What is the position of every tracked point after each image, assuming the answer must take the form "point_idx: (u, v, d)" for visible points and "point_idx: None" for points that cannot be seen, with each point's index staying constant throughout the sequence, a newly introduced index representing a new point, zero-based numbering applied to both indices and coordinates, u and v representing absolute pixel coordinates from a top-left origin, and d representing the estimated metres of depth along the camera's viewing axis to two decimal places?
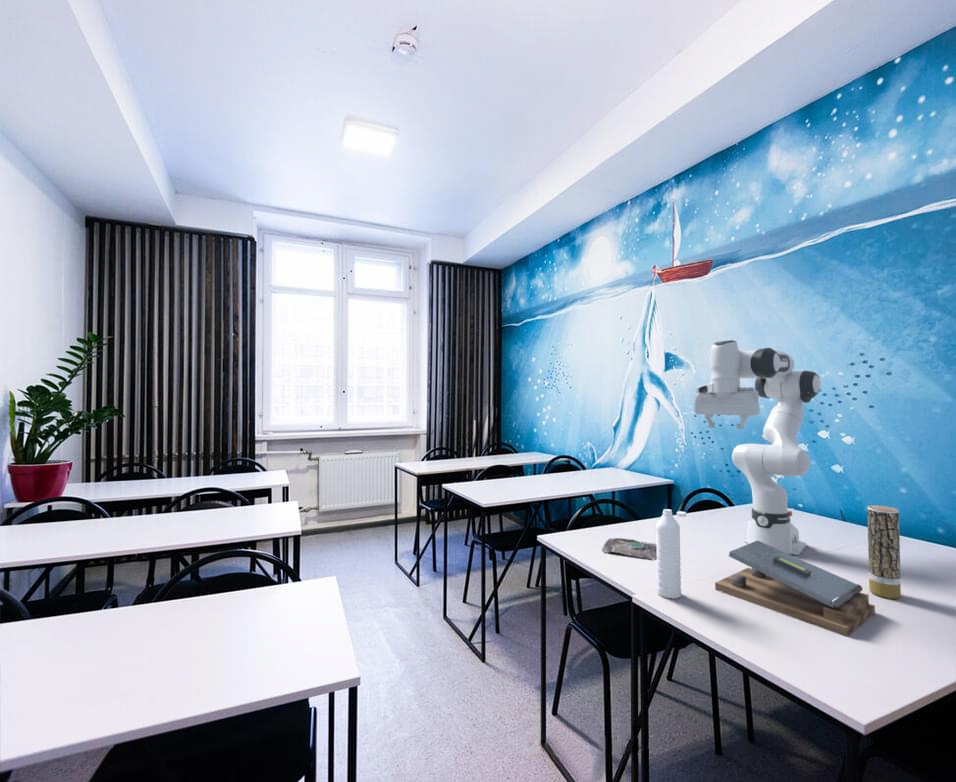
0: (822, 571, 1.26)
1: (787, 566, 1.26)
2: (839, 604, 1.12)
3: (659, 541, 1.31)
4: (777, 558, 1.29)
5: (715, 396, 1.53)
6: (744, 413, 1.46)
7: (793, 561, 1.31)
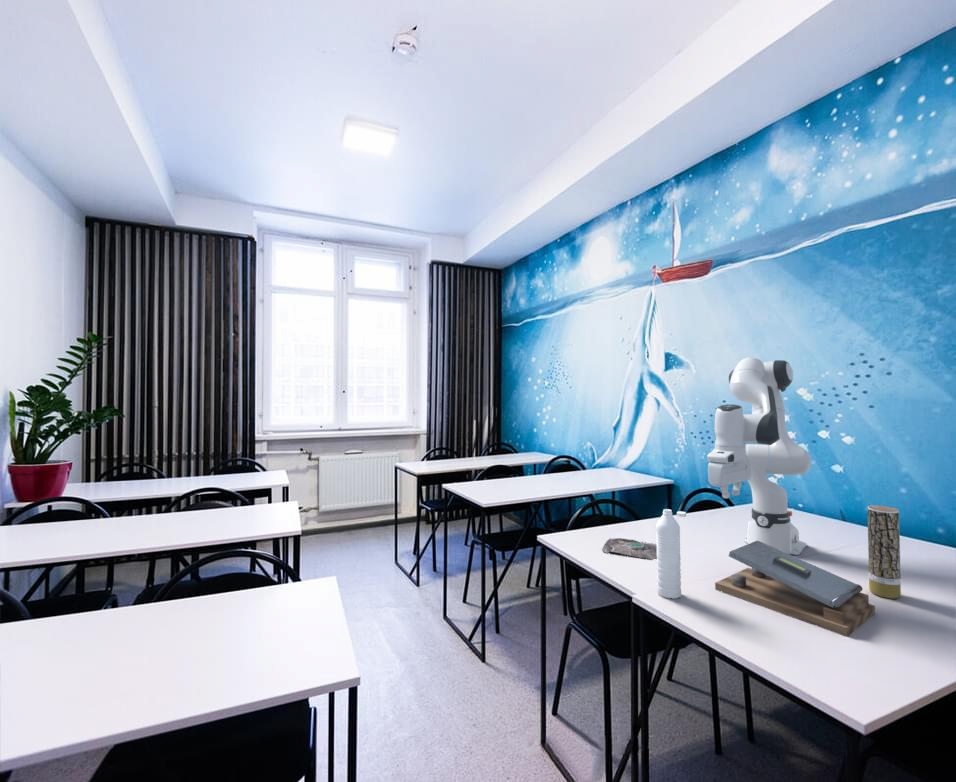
0: (822, 571, 1.26)
1: (787, 566, 1.26)
2: (839, 604, 1.12)
3: (659, 541, 1.31)
4: (777, 558, 1.29)
5: (734, 464, 1.44)
6: (746, 478, 1.49)
7: (793, 561, 1.31)
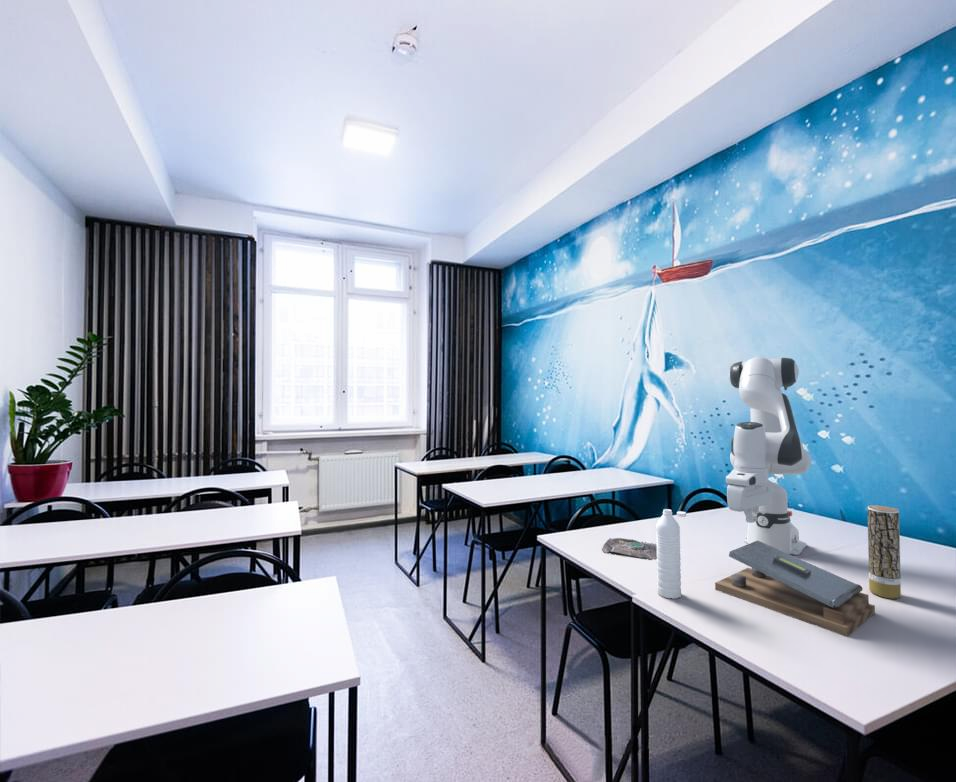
0: (822, 571, 1.26)
1: (787, 566, 1.26)
2: (839, 604, 1.12)
3: (659, 541, 1.31)
4: (777, 558, 1.29)
5: (755, 487, 1.33)
6: (768, 502, 1.38)
7: (793, 561, 1.31)
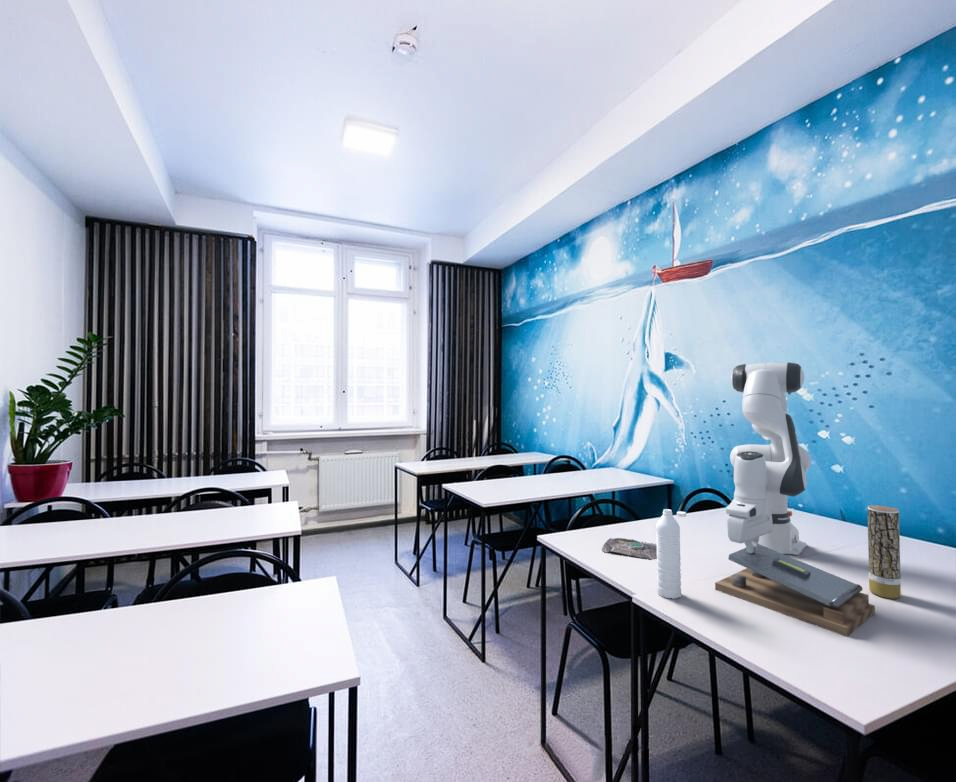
0: (822, 572, 1.27)
1: (786, 568, 1.27)
2: (839, 604, 1.12)
3: (659, 541, 1.31)
4: (776, 560, 1.29)
5: (755, 518, 1.33)
6: (768, 531, 1.38)
7: (793, 563, 1.31)
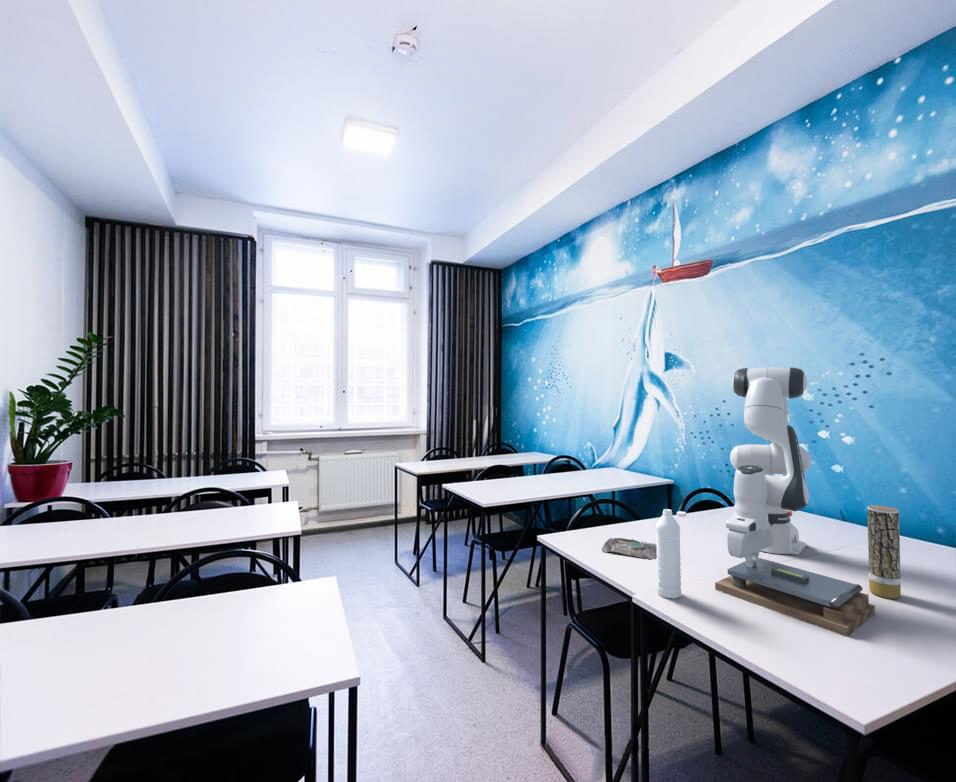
0: (821, 576, 1.27)
1: (785, 575, 1.27)
2: (839, 603, 1.12)
3: (659, 541, 1.31)
4: (774, 569, 1.30)
5: (755, 532, 1.33)
6: (768, 545, 1.38)
7: (791, 571, 1.31)
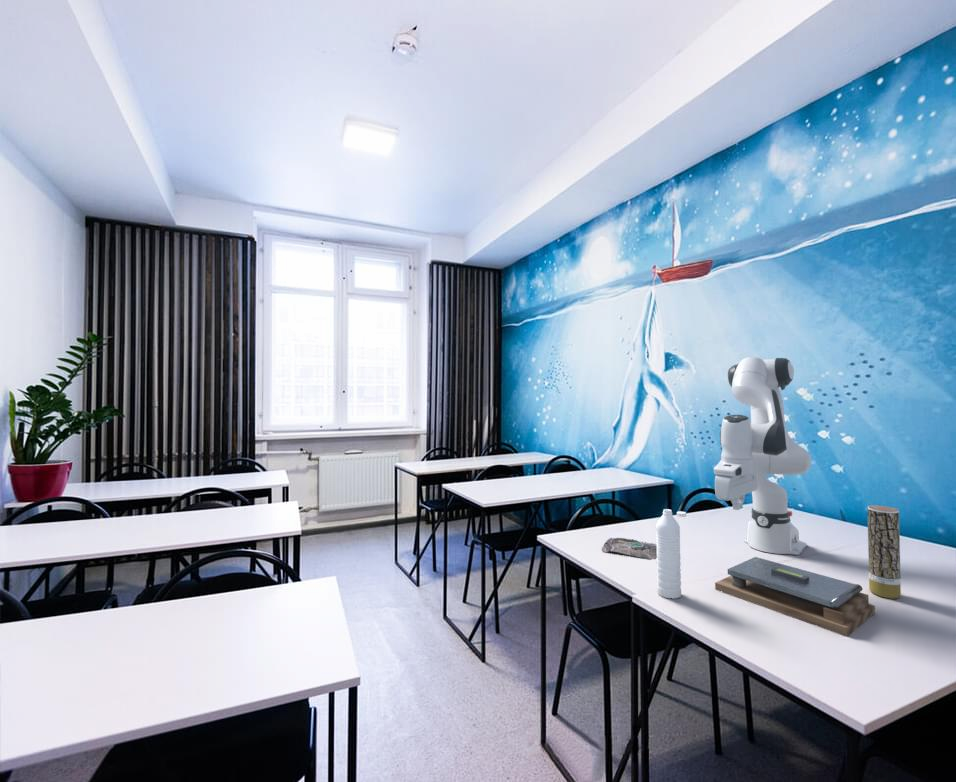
0: (821, 576, 1.27)
1: (785, 575, 1.27)
2: (839, 603, 1.12)
3: (659, 541, 1.31)
4: (774, 569, 1.30)
5: (741, 477, 1.40)
6: (753, 489, 1.46)
7: (791, 571, 1.31)
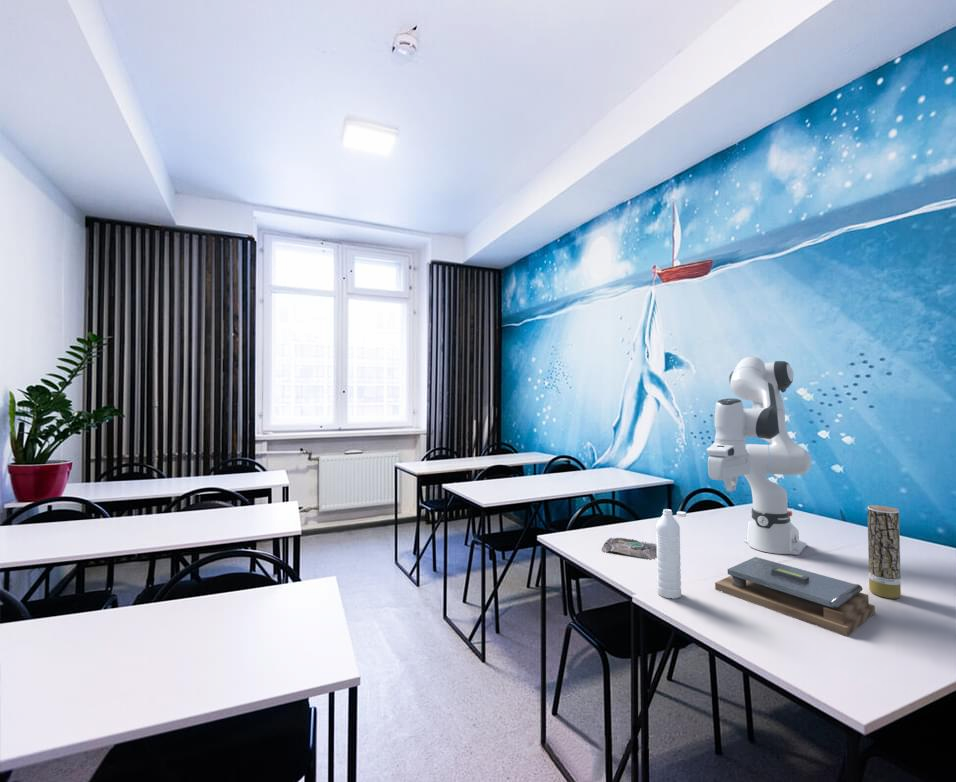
0: (821, 576, 1.27)
1: (785, 575, 1.27)
2: (839, 603, 1.12)
3: (659, 541, 1.31)
4: (774, 569, 1.30)
5: (733, 458, 1.43)
6: (746, 472, 1.49)
7: (791, 571, 1.31)
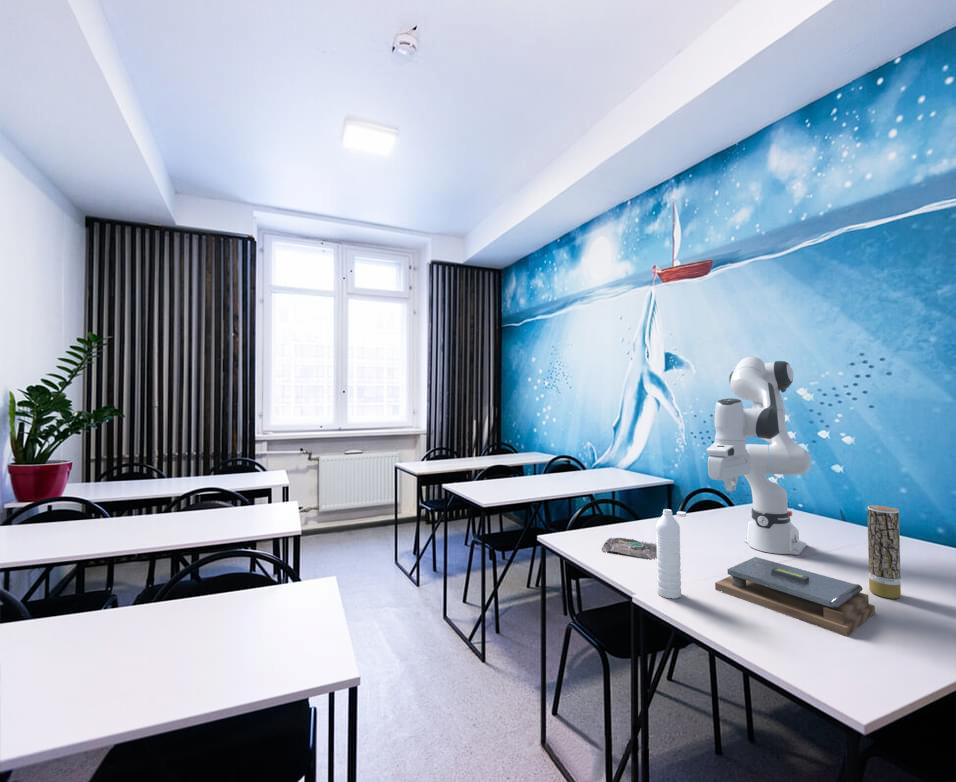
0: (821, 576, 1.27)
1: (785, 575, 1.27)
2: (839, 603, 1.12)
3: (659, 541, 1.31)
4: (774, 569, 1.30)
5: (733, 458, 1.43)
6: (746, 472, 1.49)
7: (791, 571, 1.31)
